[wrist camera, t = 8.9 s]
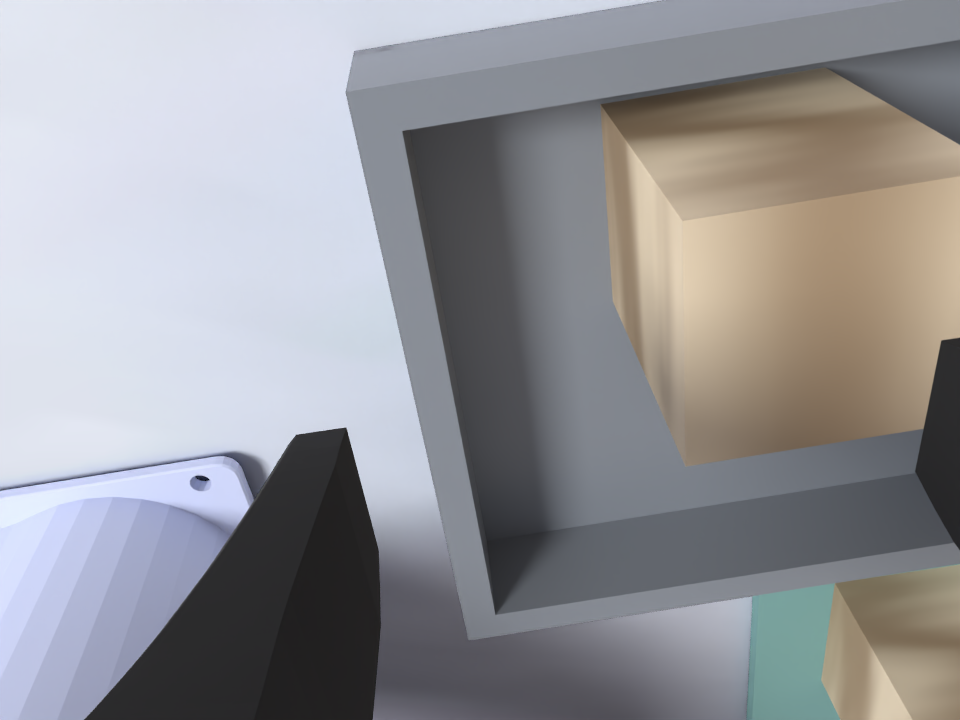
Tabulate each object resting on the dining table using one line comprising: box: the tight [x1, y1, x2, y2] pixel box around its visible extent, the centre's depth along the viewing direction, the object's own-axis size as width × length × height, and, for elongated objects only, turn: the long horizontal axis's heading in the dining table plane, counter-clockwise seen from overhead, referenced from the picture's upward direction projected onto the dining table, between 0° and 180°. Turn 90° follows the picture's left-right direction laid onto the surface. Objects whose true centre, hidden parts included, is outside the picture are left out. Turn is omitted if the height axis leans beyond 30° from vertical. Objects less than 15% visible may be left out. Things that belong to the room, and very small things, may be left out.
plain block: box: [600, 67, 960, 467], centre depth 16 cm, size 5×5×6 cm
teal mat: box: [747, 564, 959, 720], centre depth 27 cm, size 9×9×1 cm
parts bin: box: [346, 0, 960, 641], centre depth 19 cm, size 14×14×3 cm
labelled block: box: [821, 564, 960, 720], centre depth 24 cm, size 5×5×6 cm
